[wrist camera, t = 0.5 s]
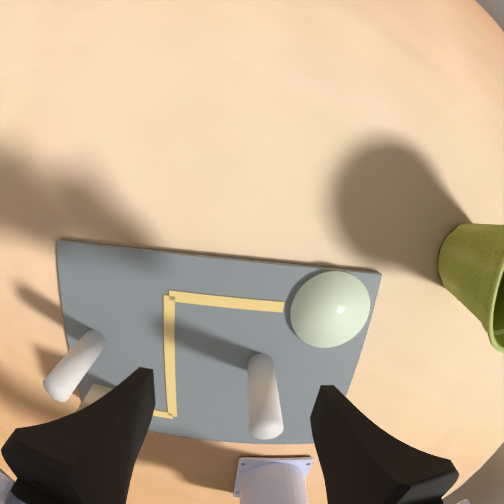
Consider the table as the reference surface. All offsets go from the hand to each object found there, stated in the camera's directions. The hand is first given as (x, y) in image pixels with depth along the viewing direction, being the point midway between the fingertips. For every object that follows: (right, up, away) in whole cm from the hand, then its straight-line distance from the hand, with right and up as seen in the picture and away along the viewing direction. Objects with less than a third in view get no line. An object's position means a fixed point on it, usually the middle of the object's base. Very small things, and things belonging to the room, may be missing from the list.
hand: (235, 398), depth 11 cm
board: (-3, -3, +11) cm, 12 cm away
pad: (+6, +2, +10) cm, 12 cm away
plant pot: (+19, +6, +10) cm, 22 cm away
